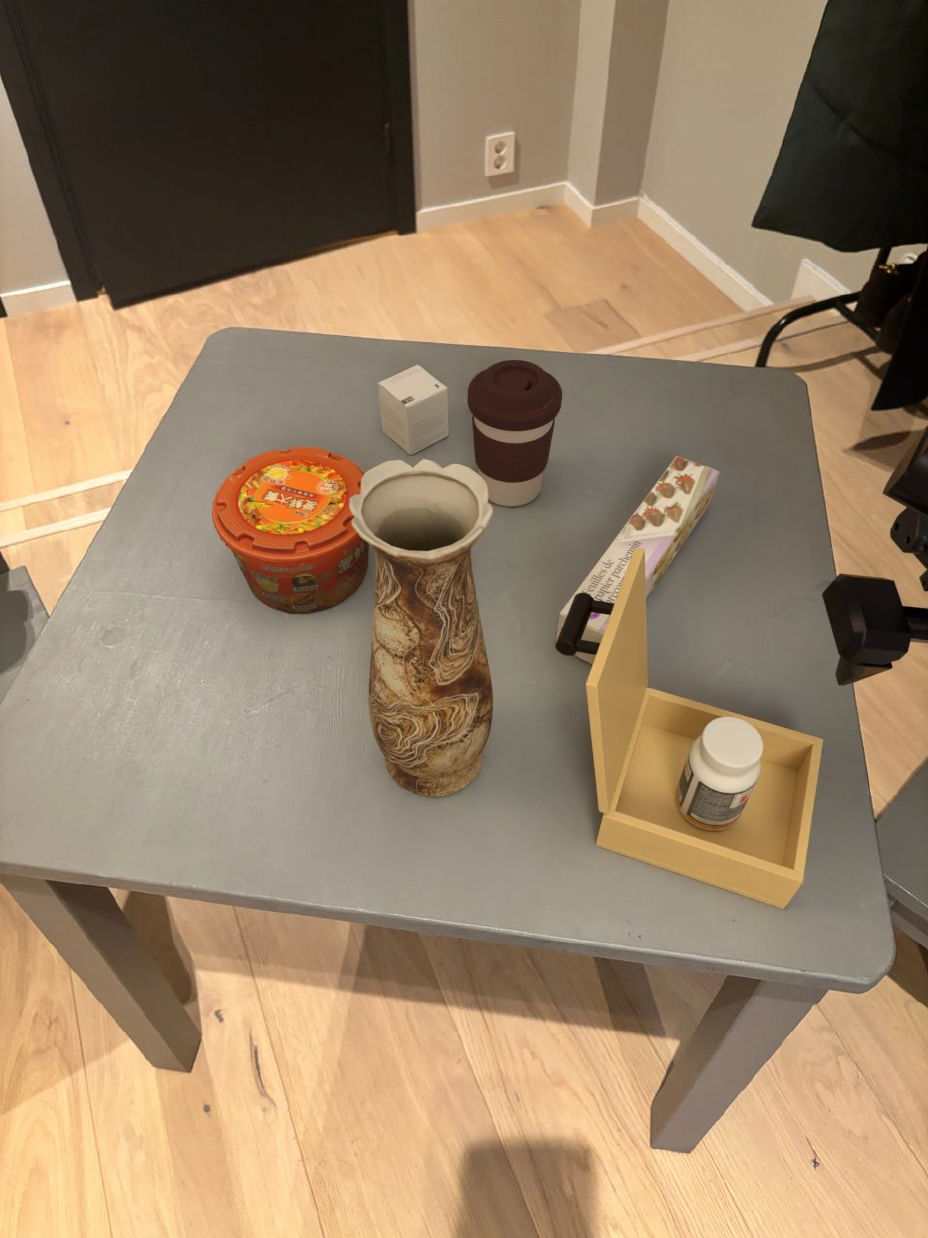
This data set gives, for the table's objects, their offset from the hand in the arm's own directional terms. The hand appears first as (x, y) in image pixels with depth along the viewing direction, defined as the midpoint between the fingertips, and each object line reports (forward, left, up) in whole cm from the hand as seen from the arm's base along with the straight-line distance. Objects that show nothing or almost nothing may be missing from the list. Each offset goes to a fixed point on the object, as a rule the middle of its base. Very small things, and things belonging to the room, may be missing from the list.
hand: (893, 684), depth 70 cm
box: (+23, -17, -13) cm, 31 cm away
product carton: (+54, -30, -13) cm, 63 cm away
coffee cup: (+40, -25, -13) cm, 49 cm away
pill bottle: (+11, +8, -12) cm, 18 cm away
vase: (+35, +11, -13) cm, 39 cm away
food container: (+56, -5, -13) cm, 57 cm away
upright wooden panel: (+19, +8, +1) cm, 21 cm away
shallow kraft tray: (+11, +8, -13) cm, 19 cm away
